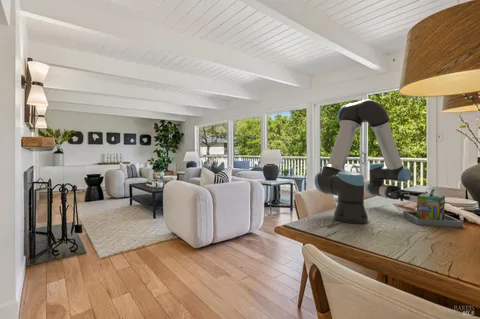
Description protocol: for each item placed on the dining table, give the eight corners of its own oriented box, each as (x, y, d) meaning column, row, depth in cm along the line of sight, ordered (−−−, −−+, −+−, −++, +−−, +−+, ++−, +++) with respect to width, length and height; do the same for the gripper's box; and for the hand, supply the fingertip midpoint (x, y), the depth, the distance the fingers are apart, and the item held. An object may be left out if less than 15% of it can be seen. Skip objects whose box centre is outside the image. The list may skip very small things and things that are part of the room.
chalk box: (421, 216, 124) (422, 186, 124) (444, 220, 117) (445, 188, 117) (415, 219, 118) (415, 188, 118) (439, 223, 111) (440, 190, 111)
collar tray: (417, 225, 111) (417, 219, 111) (402, 215, 128) (402, 210, 128) (462, 227, 107) (462, 221, 107) (441, 217, 124) (441, 212, 124)
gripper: (407, 197, 143) (447, 204, 122) (372, 199, 136) (407, 208, 116) (408, 184, 143) (447, 189, 122) (372, 186, 136) (407, 192, 116)
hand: (428, 198), depth 119 cm, fingers open, 13 cm apart
